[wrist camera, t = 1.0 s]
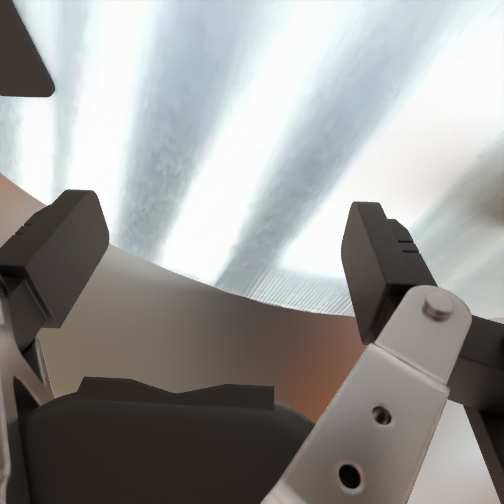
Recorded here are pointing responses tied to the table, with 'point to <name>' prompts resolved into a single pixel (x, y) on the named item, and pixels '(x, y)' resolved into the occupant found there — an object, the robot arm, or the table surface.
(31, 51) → the phone
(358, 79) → the table surface
